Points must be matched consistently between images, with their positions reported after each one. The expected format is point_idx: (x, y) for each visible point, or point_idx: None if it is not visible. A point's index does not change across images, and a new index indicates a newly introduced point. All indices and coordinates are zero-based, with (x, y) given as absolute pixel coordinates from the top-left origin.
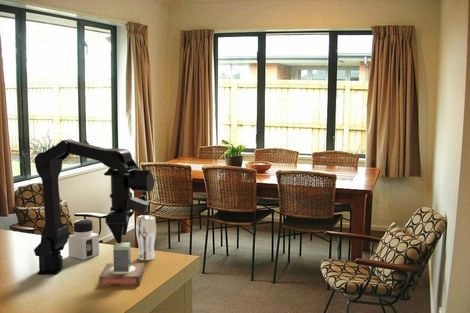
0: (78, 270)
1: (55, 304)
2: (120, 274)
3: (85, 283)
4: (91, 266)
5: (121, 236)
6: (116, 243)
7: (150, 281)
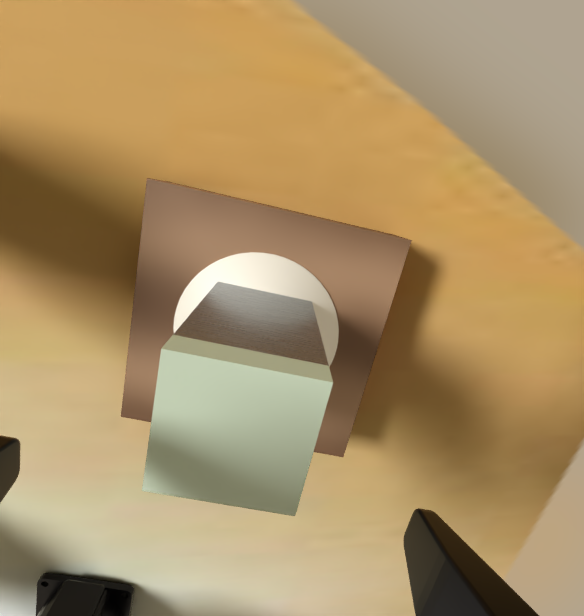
0: (92, 511)
1: None
2: (343, 350)
3: None
4: (35, 460)
5: (529, 609)
6: (175, 487)
7: (346, 160)
